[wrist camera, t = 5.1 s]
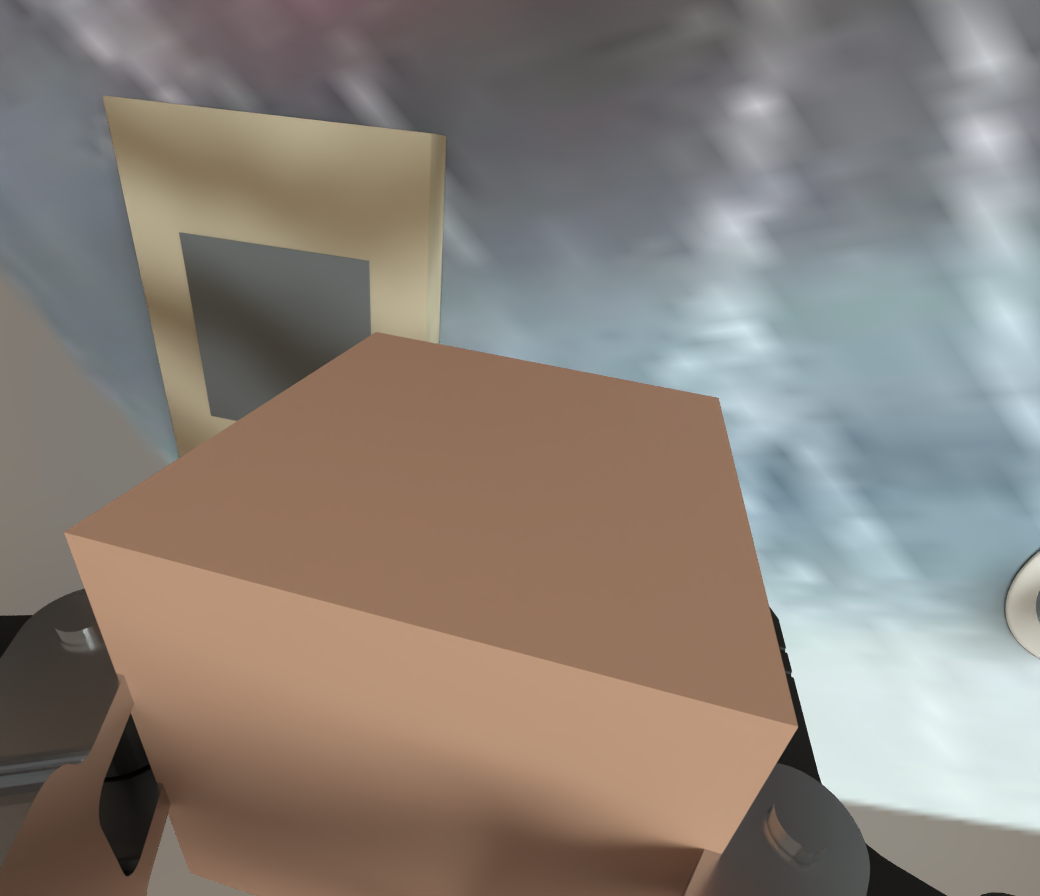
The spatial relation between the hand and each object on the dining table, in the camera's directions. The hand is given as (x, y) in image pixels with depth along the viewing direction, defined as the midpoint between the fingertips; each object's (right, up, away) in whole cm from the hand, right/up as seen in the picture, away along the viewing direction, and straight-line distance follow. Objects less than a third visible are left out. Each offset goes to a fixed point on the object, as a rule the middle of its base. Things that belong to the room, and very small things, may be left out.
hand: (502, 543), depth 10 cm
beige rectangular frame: (-9, +6, +14) cm, 17 cm away
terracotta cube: (0, +1, +1) cm, 1 cm away
